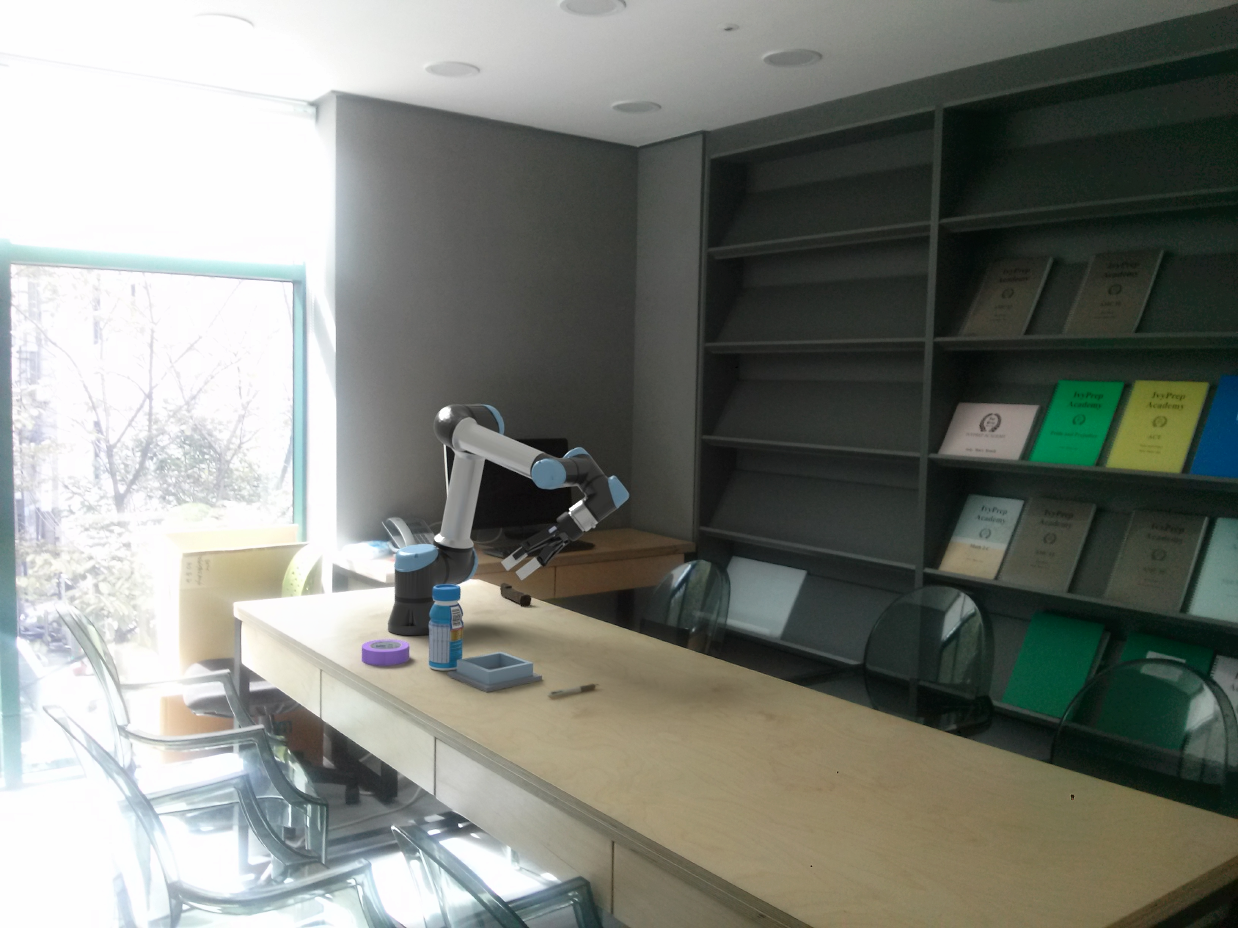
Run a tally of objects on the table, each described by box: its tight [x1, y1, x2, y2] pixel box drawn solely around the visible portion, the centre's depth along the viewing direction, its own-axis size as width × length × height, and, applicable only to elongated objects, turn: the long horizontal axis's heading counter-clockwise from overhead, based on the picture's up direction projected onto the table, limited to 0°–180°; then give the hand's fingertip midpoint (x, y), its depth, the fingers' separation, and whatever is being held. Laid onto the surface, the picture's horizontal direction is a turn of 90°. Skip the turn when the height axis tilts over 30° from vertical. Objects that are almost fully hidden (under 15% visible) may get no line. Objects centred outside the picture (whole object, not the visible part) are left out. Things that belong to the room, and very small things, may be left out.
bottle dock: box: [447, 651, 543, 693], centre depth 241 cm, size 16×16×4 cm
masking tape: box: [361, 638, 410, 666], centre depth 255 cm, size 12×12×4 cm
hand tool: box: [499, 582, 532, 608], centre depth 328 cm, size 19×4×5 cm, turn 29°
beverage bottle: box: [428, 584, 465, 672], centre depth 249 cm, size 8×8×20 cm
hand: (511, 571), depth 264 cm, fingers open, 13 cm apart
